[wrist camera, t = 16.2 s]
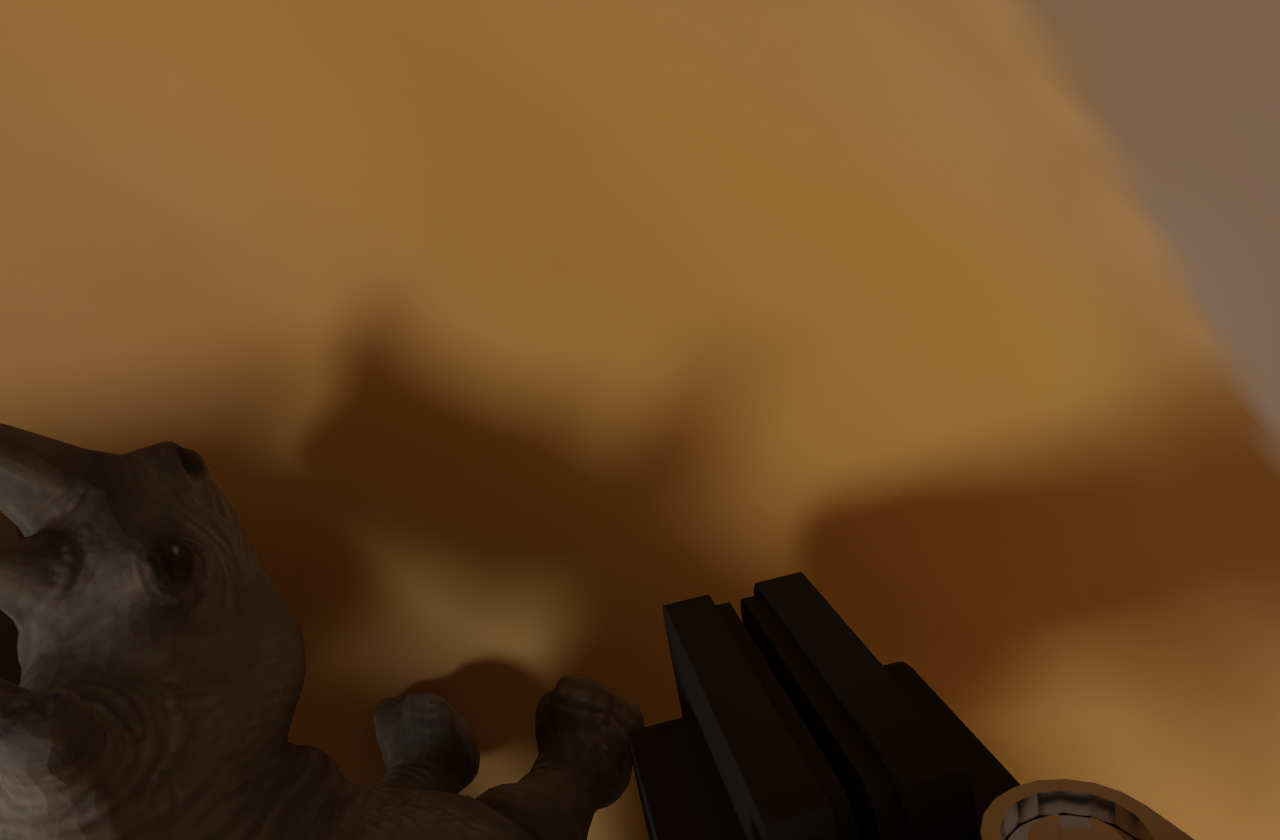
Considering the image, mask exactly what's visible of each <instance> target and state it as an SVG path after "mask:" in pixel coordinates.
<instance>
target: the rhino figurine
mask: <svg viewBox="0 0 1280 840" xmlns="http://www.w3.org/2000/svg"><path fill="white" fill-rule="evenodd" d="M0 511H1V512H2V513H3V514H4V515H5V516H7V517H8V518H9V519H10V520H11V521H12V522H13V523H15V524H16V525H17V526H18V527H19V529H20V530H21V532H22V533H23V535H24V536H25V537H23V538H17V539H10V540H3V541H0V609H1V610H2V611H3V612H4V613H6V614H7V615H8V616H9V617H10V618H11V619H12V620H13V621H14V623H15V625H16V627H17V629H18V641H17V651H18V660H19V662H20V665H21V670H22V674H21V682H20V683H19V685H15V684H13V683H10V682H7V681H5V680H3V679H0V840H587V836H588V831H589V827H590V824H591V821H592V819H593V815H594V813H595V812H596V811H597V810H598V809H601V808H604V807H607V806H609V805H611V804H612V803H614V802H615V801H616V800H617V799H618V798H619V797H620V796H621V795H622V793H623V792H624V791H625V789H626V788H627V786H628V784H629V782H630V779H631V774H632V767H633V762H632V757H631V752H630V747H629V741H628V736H627V732H629V731H633V730H637V729H640V728H644V718H643V715H642V713H641V711H640V709H639V708H638V706H636V705H635V704H633V703H631V702H630V701H628V700H626V699H623V698H619V697H617V696H614V695H612V694H611V693H610V692H609V690H608V689H607V688H606V687H605V686H603V685H602V684H601V683H599V682H598V681H596V680H594V679H592V678H590V677H587V676H582V675H567V676H564V677H562V678H560V679H559V680H558V682H557V685H556V687H555V689H554V690H552V691H549V692H547V693H546V694H545V695H544V696H543V697H542V698H541V699H540V701H539V702H538V705H537V708H536V718H535V733H536V739H537V745H538V751H539V755H538V757H537V759H536V761H535V763H534V765H533V767H532V769H531V771H530V772H529V773H527V774H526V775H525V776H524V777H523V778H522V779H520V780H519V781H518V782H517V783H513V784H502V785H499V786H496V787H493V788H490V789H488V790H486V791H485V792H484V793H482V794H481V795H480V796H478V797H477V798H475V799H473V798H471V797H468V796H464V795H460V794H458V793H459V792H460V791H461V790H462V789H464V788H465V787H466V786H468V785H469V784H470V783H471V782H472V781H473V779H474V778H475V776H476V774H477V773H478V769H479V756H480V754H479V748H478V743H477V740H476V738H475V735H474V733H473V731H472V729H471V727H470V726H469V724H468V723H467V722H466V720H465V719H464V718H463V717H462V716H461V714H460V713H459V712H458V711H457V710H456V709H455V708H454V707H453V706H452V705H451V704H450V703H449V702H447V701H446V700H445V699H444V698H442V697H441V696H438V695H435V694H433V693H429V692H423V691H420V692H413V693H410V694H408V695H407V697H406V698H405V699H398V698H387V699H384V700H381V701H380V702H379V703H378V704H377V706H376V708H375V711H374V727H375V732H376V736H377V741H378V744H379V747H380V750H381V754H382V758H383V763H384V765H385V767H386V769H387V772H386V774H385V776H384V778H383V779H382V781H381V782H380V783H379V785H378V786H361V785H355V784H353V783H351V782H350V781H349V780H347V779H346V778H345V777H343V775H342V774H341V773H340V771H339V769H338V767H337V765H336V763H335V761H334V760H333V759H332V758H331V757H330V756H329V755H328V754H326V753H324V752H323V751H321V750H320V749H318V748H316V747H311V746H296V745H294V744H292V743H290V742H288V740H287V737H288V732H289V728H290V723H291V720H292V717H293V714H294V711H295V708H296V705H297V702H298V698H299V695H300V691H301V688H302V685H303V681H304V676H305V650H304V645H303V640H302V635H301V631H300V629H299V626H298V624H297V622H296V620H295V618H294V616H293V614H292V612H291V610H290V609H289V607H288V605H287V604H286V602H285V600H284V599H283V597H282V595H281V594H280V592H279V591H278V590H277V588H276V587H275V586H274V585H273V583H272V582H271V581H270V579H269V578H268V576H267V574H266V572H265V570H264V568H263V566H262V564H261V562H260V560H259V558H258V556H257V554H256V552H255V551H254V549H253V547H252V546H251V544H250V542H249V541H248V539H247V537H246V535H245V534H244V532H243V530H242V527H241V525H240V522H239V520H238V518H237V515H236V513H235V510H234V509H233V508H232V506H231V505H230V503H229V502H228V501H227V499H226V498H225V496H224V495H223V494H222V492H221V491H220V490H219V488H218V487H217V486H216V484H215V483H214V482H213V481H212V480H211V478H210V475H209V472H208V469H207V466H206V465H205V463H204V461H203V460H202V458H201V457H200V455H199V454H198V453H196V452H195V451H192V450H189V449H186V448H182V447H181V446H179V445H177V444H175V443H173V442H161V443H158V444H155V445H152V446H149V447H146V448H143V449H140V450H136V451H133V452H130V453H127V454H122V455H116V454H111V453H105V452H100V451H93V450H86V449H83V448H80V447H77V446H73V445H70V444H67V443H64V442H61V441H58V440H54V439H51V438H48V437H45V436H42V435H39V434H35V433H32V432H29V431H26V430H22V429H19V428H16V427H12V426H9V425H5V424H1V423H0Z"/></svg>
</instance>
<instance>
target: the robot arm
mask: <svg viewBox="0 0 1280 840" xmlns="http://www.w3.org/2000/svg"><path fill="white" fill-rule="evenodd" d="M663 614H664V621H665V626H666V632H667V637H668V642H669V647H670V653H671V658H672V663H673V668H674V674H675V679H676V684H677V689H678V695H679V700H680V705H681V710H682V716H683V718H679V719H675V720H671V721H667V722H664V723H660V724H656V725H652V726H648V727H644V728H640V729H637V730H633V731H629V732H627V736H628V741H629V747H630V752H631V757H632V762H633V766H634V771H635V776H636V781H637V785H638V790H639V795H640V800H641V804H642V809H643V813H644V818H645V822H646V827H647V831H648V835H649V839H650V840H1194V839H1193V838H1191V837H1190V836H1189V835H1187V834H1186V833H1184V832H1183V831H1182V830H1180V829H1179V828H1177V827H1176V826H1175V825H1173V824H1172V823H1170V822H1169V821H1167V820H1166V819H1165V818H1163V817H1162V816H1160V815H1159V814H1158V813H1156V812H1155V811H1153V810H1152V809H1151V808H1149V807H1148V806H1146V805H1144V804H1143V803H1141V802H1139V801H1137V800H1135V799H1134V798H1132V797H1130V796H1128V795H1126V794H1125V793H1123V792H1120V791H1117V790H1114V789H1111V788H1108V787H1105V786H1102V785H1099V784H1096V783H1091V782H1083V781H1076V780H1068V779H1057V780H1038V781H1034V782H1031V783H1027V784H1023V785H1020V784H1019V783H1018V782H1017V781H1016V780H1015V779H1014V777H1013V776H1012V775H1011V774H1010V773H1009V772H1008V771H1007V770H1006V769H1005V768H1004V767H1003V766H1002V764H1001V763H1000V762H999V761H998V760H997V759H996V758H995V757H994V756H993V755H992V754H991V753H990V752H989V750H988V749H987V748H986V747H985V746H984V745H983V744H982V743H981V742H980V741H979V740H978V739H977V737H976V736H975V735H974V734H973V733H972V732H971V731H970V730H969V729H968V728H967V727H966V726H965V724H964V723H963V722H962V721H961V720H960V719H959V718H958V717H957V716H956V715H955V714H954V713H953V712H952V710H951V709H950V708H949V707H948V706H947V705H946V704H945V703H944V702H943V701H942V700H941V699H940V697H939V696H938V695H937V694H936V693H935V692H934V691H933V690H932V689H931V688H930V687H929V686H928V685H927V683H926V682H925V681H924V680H923V679H922V678H921V677H920V676H919V675H918V674H917V673H916V672H915V670H914V669H913V668H912V667H910V666H909V665H908V664H907V663H905V662H895V663H892V664H888V665H884V666H882V664H881V663H880V662H879V661H878V660H877V659H876V658H875V656H874V655H873V654H872V653H871V652H870V651H869V649H868V648H867V647H866V646H865V645H864V644H863V643H862V641H861V640H860V639H859V638H858V637H857V636H856V634H855V633H854V632H853V631H852V630H851V629H850V628H849V626H848V625H847V624H846V623H845V622H844V621H843V619H842V618H841V617H840V616H839V615H838V614H837V613H836V611H835V610H834V609H833V608H832V607H831V606H830V604H829V603H828V602H827V601H826V600H825V599H824V598H823V596H822V595H821V594H820V593H819V592H818V591H817V589H816V588H815V587H814V586H813V585H812V584H811V582H810V581H809V580H808V579H807V578H806V577H805V576H804V575H803V574H802V573H801V572H799V573H795V574H791V575H787V576H783V577H778V578H774V579H770V580H766V581H762V582H758V583H755V585H754V596H753V597H748V598H744V599H741V614H742V620H743V623H742V621H741V620H740V618H739V617H738V615H737V613H736V612H735V610H734V608H733V607H732V605H731V604H730V603H729V602H728V603H724V604H720V605H715V604H714V602H713V600H712V599H711V597H710V596H709V595H705V596H701V597H696V598H692V599H688V600H684V601H680V602H676V603H672V604H668V605H664V606H663Z"/></svg>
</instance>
